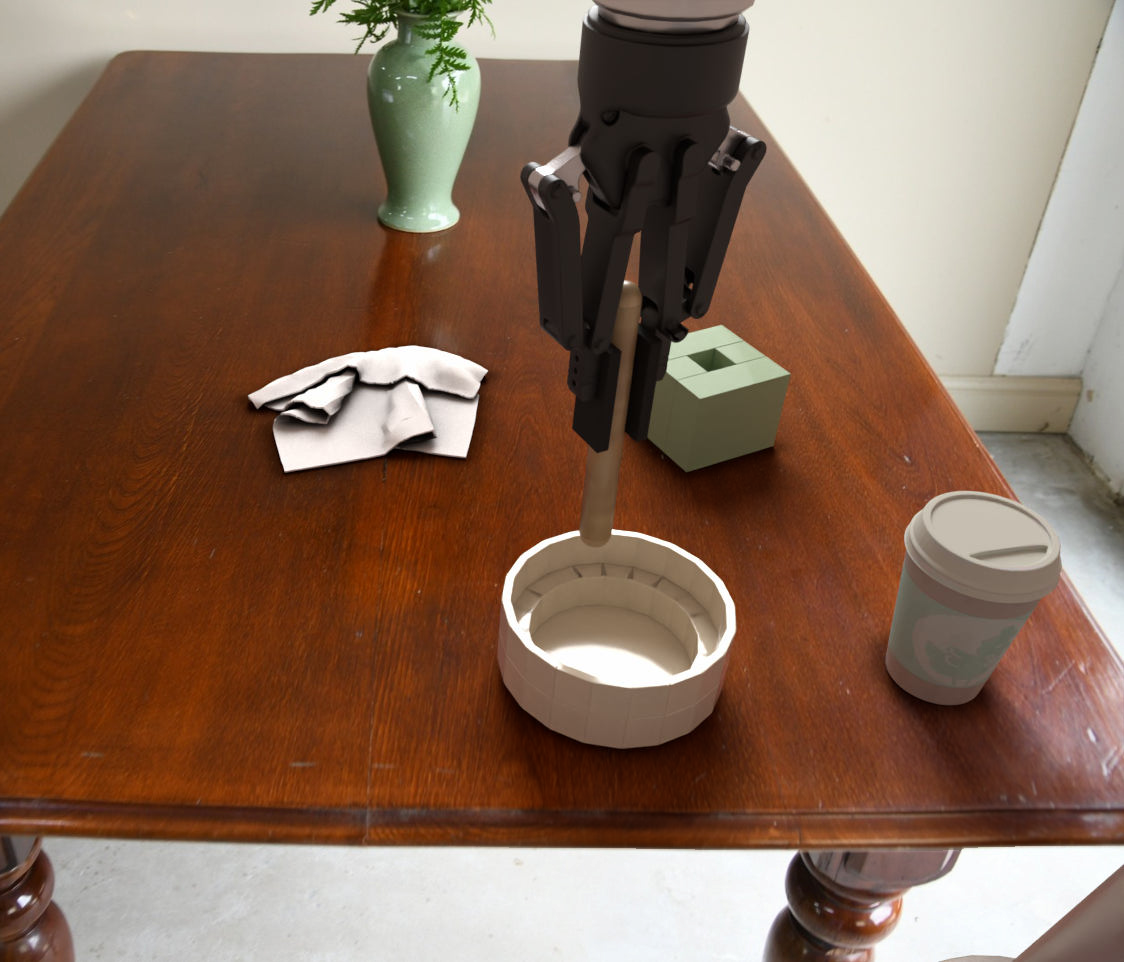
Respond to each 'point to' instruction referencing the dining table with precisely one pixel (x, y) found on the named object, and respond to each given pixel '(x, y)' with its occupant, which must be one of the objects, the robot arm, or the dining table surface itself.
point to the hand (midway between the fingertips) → (609, 433)
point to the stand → (716, 400)
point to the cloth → (374, 406)
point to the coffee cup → (967, 592)
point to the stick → (607, 464)
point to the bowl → (615, 638)
